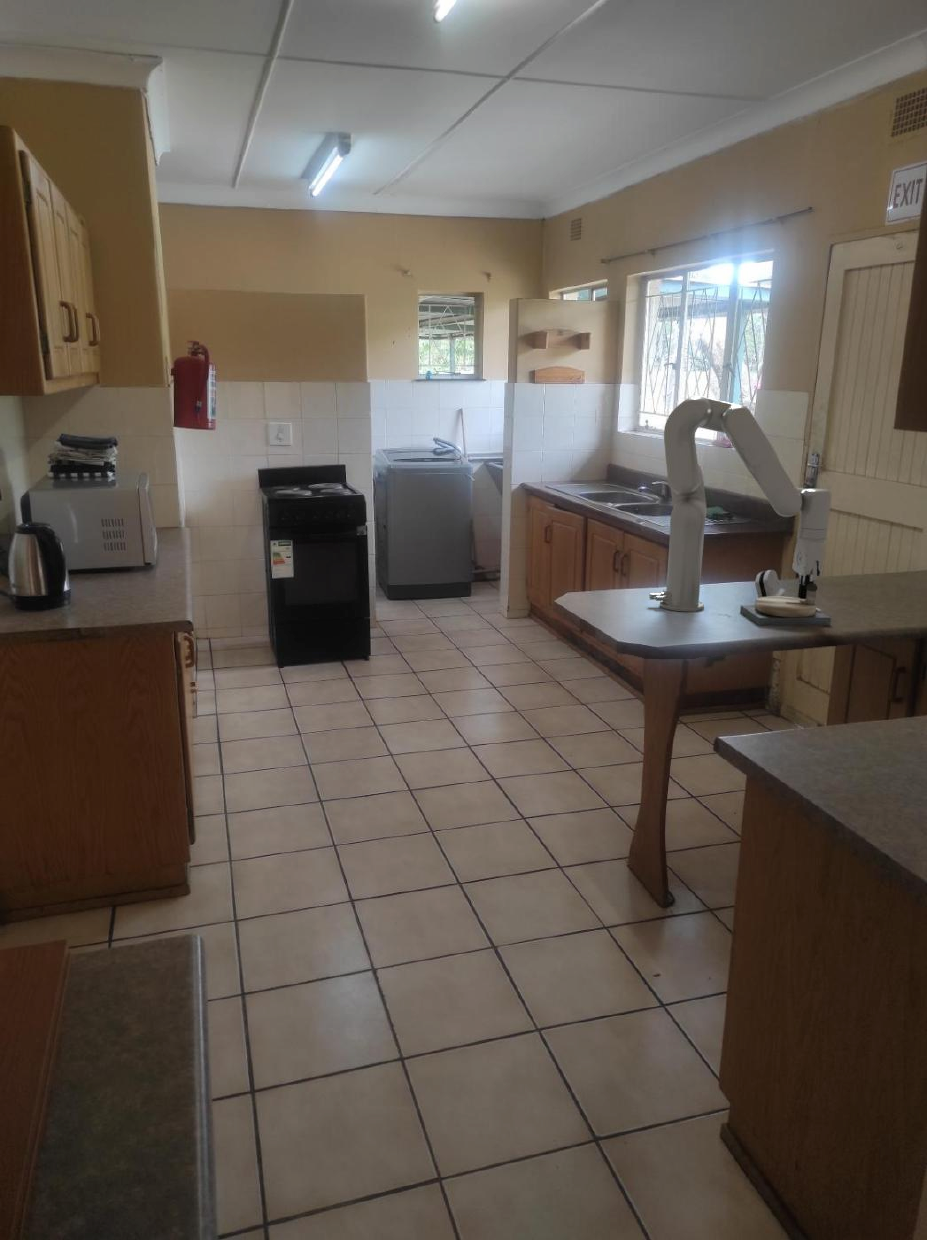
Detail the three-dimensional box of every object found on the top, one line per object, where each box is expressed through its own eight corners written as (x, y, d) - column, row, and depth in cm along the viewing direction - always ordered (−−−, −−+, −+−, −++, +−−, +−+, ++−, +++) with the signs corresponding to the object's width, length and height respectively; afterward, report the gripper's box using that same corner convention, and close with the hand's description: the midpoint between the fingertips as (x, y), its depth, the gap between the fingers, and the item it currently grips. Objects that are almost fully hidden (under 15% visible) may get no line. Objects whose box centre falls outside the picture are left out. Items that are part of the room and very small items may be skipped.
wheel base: (758, 625, 238) (759, 615, 237) (740, 612, 251) (740, 603, 250) (830, 625, 239) (831, 615, 238) (808, 612, 252) (809, 602, 251)
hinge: (777, 606, 258) (768, 574, 257) (761, 610, 260) (752, 578, 259) (786, 595, 272) (778, 564, 271) (771, 598, 275) (763, 568, 274)
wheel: (751, 601, 253) (753, 574, 251) (809, 604, 250) (812, 577, 248) (759, 615, 238) (762, 587, 236) (821, 618, 235) (824, 589, 233)
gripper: (789, 529, 249) (781, 591, 253) (809, 538, 234) (800, 604, 239) (815, 529, 249) (807, 592, 253) (836, 538, 234) (828, 605, 239)
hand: (804, 598), depth 246 cm, fingers closed
